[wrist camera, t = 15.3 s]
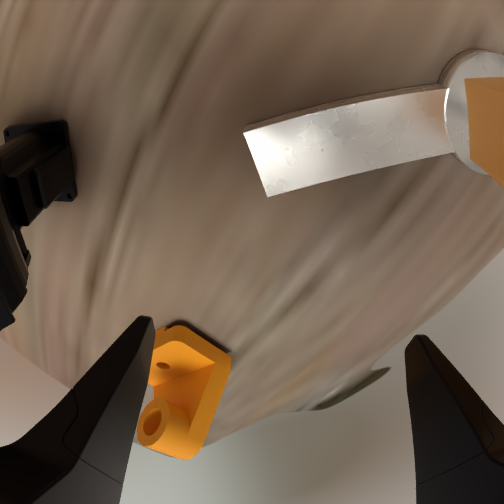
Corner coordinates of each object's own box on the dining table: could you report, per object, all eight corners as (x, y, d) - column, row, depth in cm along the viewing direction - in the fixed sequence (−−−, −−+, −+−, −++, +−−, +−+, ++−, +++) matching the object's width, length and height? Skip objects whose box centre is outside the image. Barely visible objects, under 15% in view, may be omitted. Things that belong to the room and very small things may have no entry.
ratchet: (277, 213, 22) (280, 257, 18) (231, 92, 17) (222, 108, 13) (520, 156, 17) (556, 184, 13) (516, 50, 12) (559, 63, 8)
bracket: (181, 316, 29) (157, 432, 20) (231, 350, 33) (223, 455, 23) (125, 348, 34) (99, 439, 24) (170, 375, 37) (155, 461, 28)
